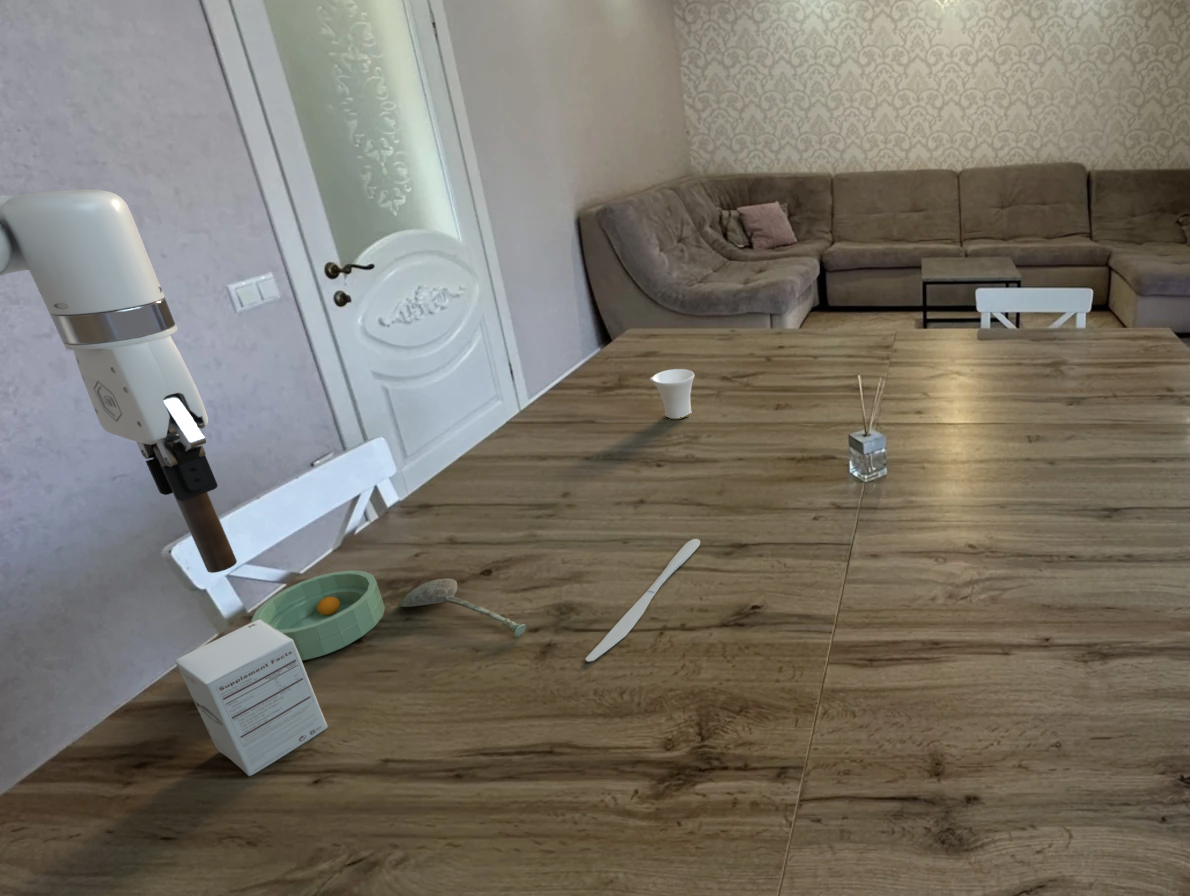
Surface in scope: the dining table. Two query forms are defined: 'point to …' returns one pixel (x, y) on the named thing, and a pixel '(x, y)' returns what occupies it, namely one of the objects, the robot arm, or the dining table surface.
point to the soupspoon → (452, 601)
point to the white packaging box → (253, 695)
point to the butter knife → (642, 603)
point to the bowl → (325, 632)
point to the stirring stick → (204, 528)
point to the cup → (675, 391)
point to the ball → (328, 605)
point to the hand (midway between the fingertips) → (189, 490)
